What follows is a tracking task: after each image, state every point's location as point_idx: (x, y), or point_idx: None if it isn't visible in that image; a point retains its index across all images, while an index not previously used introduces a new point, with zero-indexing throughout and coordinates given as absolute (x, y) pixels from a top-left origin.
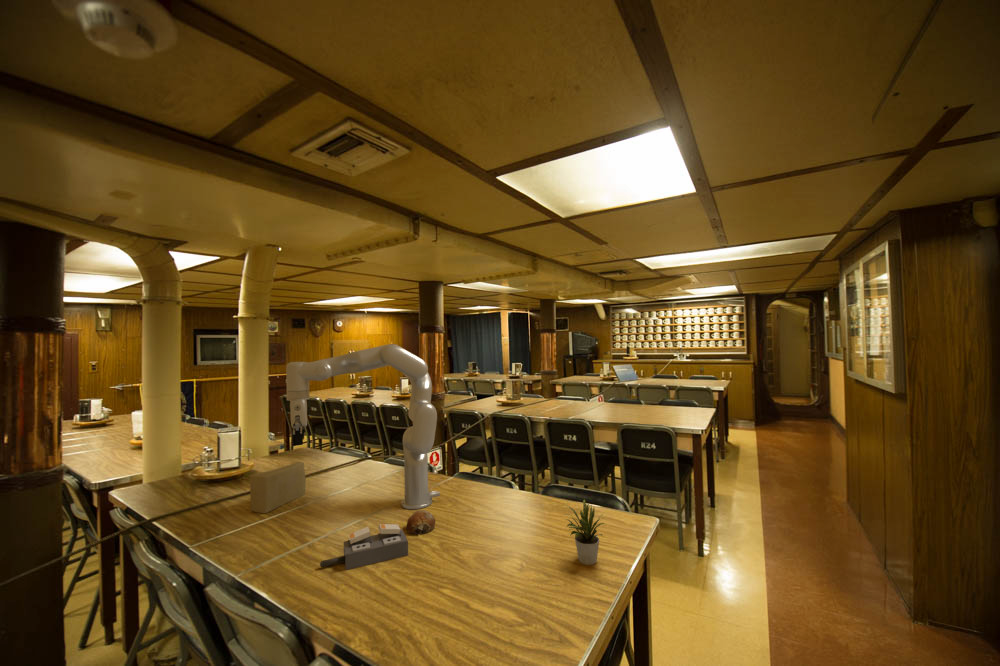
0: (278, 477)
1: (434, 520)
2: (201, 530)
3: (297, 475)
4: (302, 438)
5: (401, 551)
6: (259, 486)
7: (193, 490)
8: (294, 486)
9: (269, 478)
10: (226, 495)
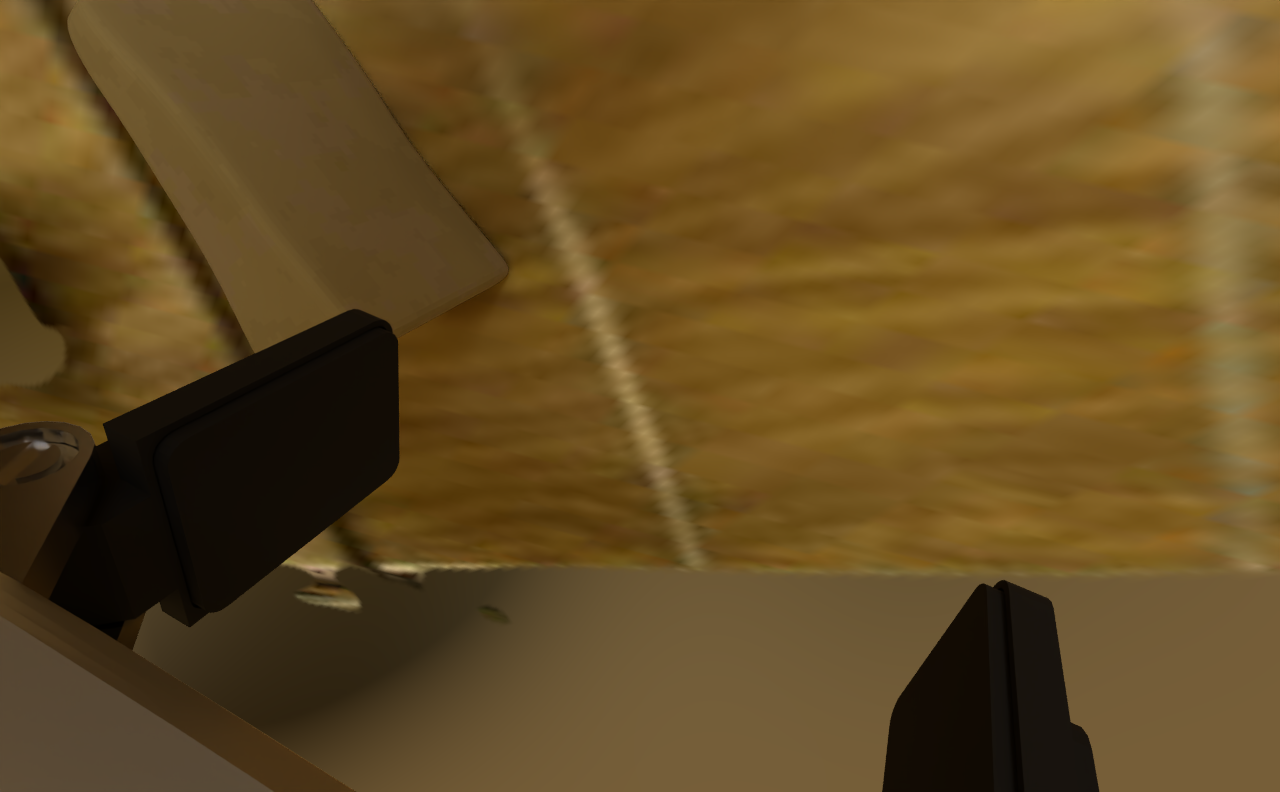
0: (316, 236)
1: None
2: (553, 505)
3: (223, 63)
4: (1063, 748)
5: None
6: None
7: (126, 412)
8: (307, 87)
9: None
10: (205, 340)
